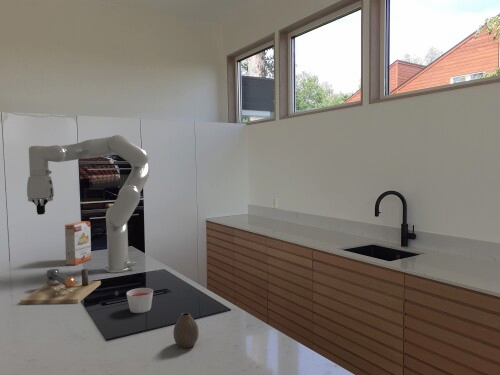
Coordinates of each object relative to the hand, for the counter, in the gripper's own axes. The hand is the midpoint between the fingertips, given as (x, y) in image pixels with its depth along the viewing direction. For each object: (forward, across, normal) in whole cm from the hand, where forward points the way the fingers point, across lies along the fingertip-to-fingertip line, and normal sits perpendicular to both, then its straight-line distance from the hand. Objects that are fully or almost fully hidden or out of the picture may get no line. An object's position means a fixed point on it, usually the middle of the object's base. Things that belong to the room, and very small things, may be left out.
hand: (41, 214), depth 179 cm
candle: (+29, -55, +43) cm, 76 cm away
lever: (+25, -18, +22) cm, 38 cm away
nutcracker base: (+29, -19, +24) cm, 42 cm away
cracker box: (+29, -4, -29) cm, 41 cm away
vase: (+29, -75, +71) cm, 107 cm away
